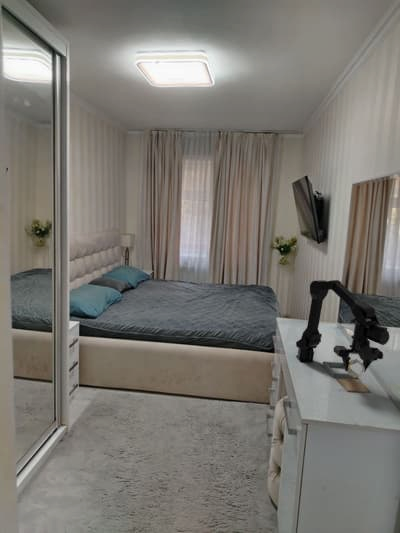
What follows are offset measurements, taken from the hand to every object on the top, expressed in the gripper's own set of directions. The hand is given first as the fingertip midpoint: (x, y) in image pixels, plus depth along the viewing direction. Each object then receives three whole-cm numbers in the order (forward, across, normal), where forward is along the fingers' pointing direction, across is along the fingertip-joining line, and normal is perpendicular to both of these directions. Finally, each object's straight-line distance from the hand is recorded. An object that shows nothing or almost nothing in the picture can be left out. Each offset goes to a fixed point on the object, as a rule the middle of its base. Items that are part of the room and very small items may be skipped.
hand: (354, 371), depth 153 cm
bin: (+6, 0, +13) cm, 14 cm away
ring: (+3, 0, 0) cm, 3 cm away
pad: (+6, 0, 0) cm, 6 cm away
